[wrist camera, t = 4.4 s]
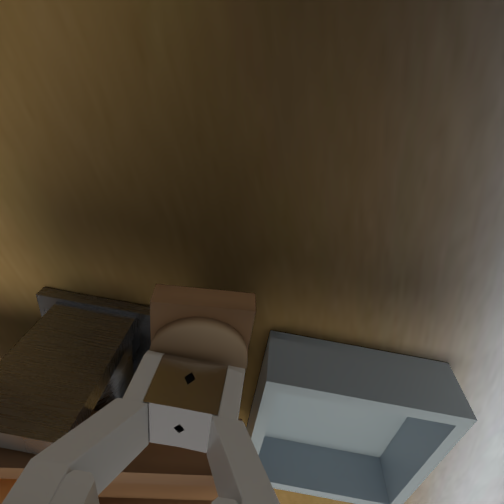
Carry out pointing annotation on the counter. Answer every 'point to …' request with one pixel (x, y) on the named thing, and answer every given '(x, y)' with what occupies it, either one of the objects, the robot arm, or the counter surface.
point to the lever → (188, 346)
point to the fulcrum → (68, 366)
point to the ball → (5, 487)
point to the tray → (353, 419)
